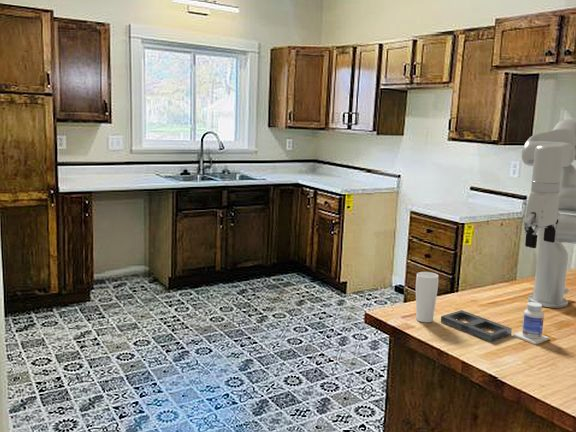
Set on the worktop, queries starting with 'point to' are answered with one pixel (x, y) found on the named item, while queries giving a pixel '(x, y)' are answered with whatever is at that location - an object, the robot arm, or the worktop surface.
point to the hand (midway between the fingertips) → (539, 244)
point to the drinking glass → (426, 296)
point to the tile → (533, 341)
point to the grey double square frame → (476, 325)
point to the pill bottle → (533, 321)
